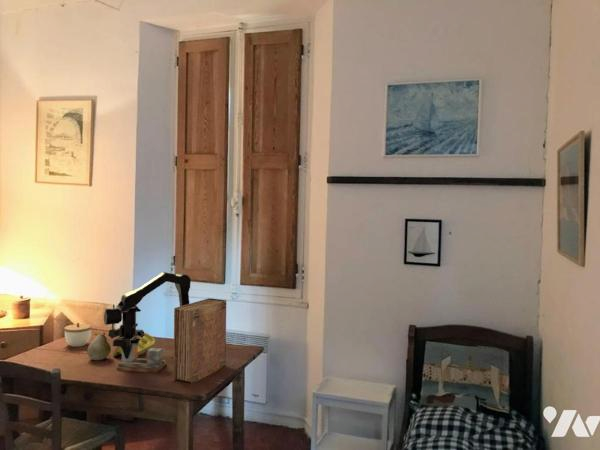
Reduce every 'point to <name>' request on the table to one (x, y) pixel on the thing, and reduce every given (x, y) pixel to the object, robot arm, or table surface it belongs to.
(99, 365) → the table surface
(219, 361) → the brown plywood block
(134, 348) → the grey green block
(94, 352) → the fruit
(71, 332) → the lidded bowl
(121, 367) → the rail
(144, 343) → the plastic component
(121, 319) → the robot arm
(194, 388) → the table surface
